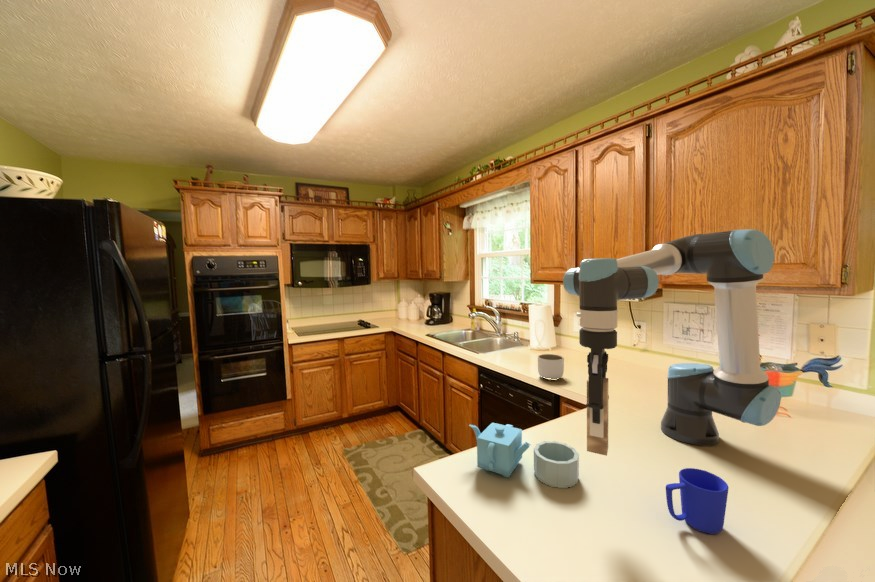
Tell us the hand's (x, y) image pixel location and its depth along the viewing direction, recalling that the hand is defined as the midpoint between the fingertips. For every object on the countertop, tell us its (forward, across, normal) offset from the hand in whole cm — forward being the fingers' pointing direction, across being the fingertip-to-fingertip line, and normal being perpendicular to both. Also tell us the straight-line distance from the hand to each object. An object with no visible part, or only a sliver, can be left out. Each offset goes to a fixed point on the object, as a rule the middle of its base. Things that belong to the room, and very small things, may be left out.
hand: (597, 431), depth 75 cm
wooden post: (+4, 0, 0) cm, 4 cm away
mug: (+19, -5, +18) cm, 26 cm away
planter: (+19, -90, -30) cm, 97 cm away
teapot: (+19, -6, -26) cm, 33 cm away
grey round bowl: (+19, -9, -11) cm, 23 cm away
